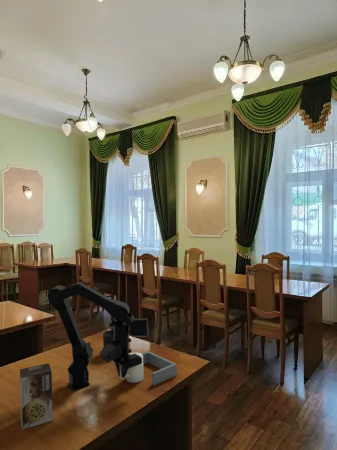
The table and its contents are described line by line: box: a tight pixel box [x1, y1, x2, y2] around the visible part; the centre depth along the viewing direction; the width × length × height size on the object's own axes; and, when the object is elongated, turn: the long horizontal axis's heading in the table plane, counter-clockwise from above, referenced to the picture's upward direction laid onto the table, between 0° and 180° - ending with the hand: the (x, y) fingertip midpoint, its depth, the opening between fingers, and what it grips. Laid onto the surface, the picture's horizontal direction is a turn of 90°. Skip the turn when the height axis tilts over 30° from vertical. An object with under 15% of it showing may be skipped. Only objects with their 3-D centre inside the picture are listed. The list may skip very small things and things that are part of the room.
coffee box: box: [19, 363, 54, 430], centre depth 102 cm, size 9×6×16 cm
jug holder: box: [141, 350, 178, 386], centre depth 134 cm, size 12×18×4 cm, turn 43°
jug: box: [119, 352, 145, 384], centre depth 127 cm, size 10×7×9 cm
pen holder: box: [102, 329, 114, 347], centre depth 153 cm, size 9×9×10 cm
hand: (121, 376), depth 124 cm, fingers closed on jug
